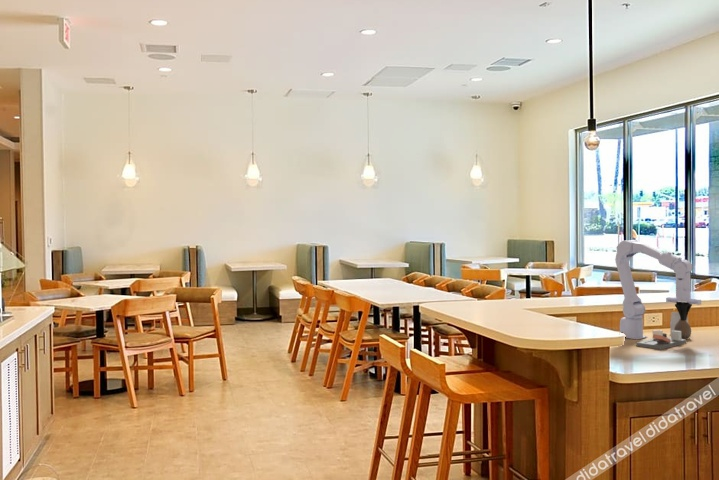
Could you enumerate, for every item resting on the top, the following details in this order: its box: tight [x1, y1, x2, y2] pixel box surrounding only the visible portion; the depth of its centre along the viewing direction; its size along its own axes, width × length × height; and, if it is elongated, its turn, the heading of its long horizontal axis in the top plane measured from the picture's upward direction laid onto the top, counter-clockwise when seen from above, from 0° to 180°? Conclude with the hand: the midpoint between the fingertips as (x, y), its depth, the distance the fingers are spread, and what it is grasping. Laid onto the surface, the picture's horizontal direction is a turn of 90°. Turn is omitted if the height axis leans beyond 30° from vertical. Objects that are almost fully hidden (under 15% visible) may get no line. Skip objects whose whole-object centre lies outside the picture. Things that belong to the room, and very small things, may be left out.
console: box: [635, 337, 687, 350], centre depth 300 cm, size 11×20×2 cm, turn 127°
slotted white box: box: [670, 330, 682, 341], centre depth 300 cm, size 3×2×4 cm
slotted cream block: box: [652, 329, 664, 339], centre depth 303 cm, size 3×2×4 cm
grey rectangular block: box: [669, 311, 689, 333], centre depth 323 cm, size 4×7×10 cm, turn 48°
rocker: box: [652, 334, 671, 343], centre depth 294 cm, size 4×7×2 cm, turn 127°
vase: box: [674, 319, 692, 340], centre depth 312 cm, size 7×7×9 cm
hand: (683, 320), depth 301 cm, fingers closed
